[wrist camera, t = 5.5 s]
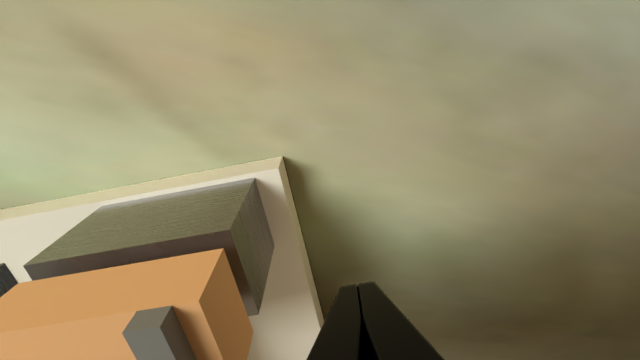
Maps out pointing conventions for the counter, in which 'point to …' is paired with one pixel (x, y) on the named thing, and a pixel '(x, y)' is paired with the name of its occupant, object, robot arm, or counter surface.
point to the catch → (130, 313)
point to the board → (270, 174)
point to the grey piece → (171, 236)
